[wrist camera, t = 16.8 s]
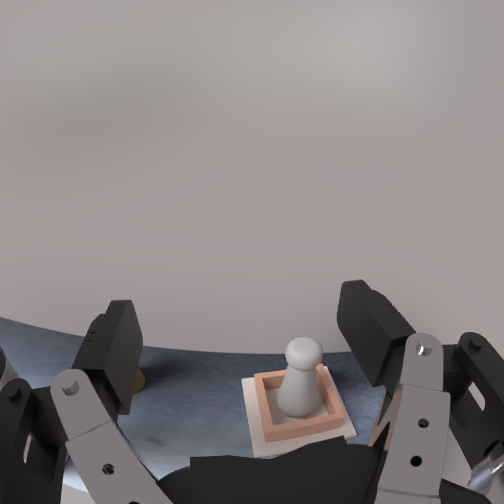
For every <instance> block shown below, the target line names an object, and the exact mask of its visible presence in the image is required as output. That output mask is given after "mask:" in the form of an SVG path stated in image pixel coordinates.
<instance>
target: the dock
mask: <svg viewBox="0 0 504 504" xmlns="http://www.w3.org/2000/svg"><path fill="white" fill-rule="evenodd" d="M285 373H286V370H281V371H274V372H266V373H258V374H254V378H245V379H242V387H243V393H244V400H245V406H246V412H247V419H248V425H249V431H250V437H251V443H252V449H253V454H254V458H258V457H265V456H272V455H279V454H285V453H288V452H290V451H293V450H295V449H297V448H300V447H302V446H304V445H306V444H309V443H314V442H318V441H322V440H326V439H330V438H334V437H338V436H342V435H344V438H345V440H346V439H349V438H353V437H355V436H356V435H357V433H356V431H355V429H354V427H353V424H352V422H351V420H350V417H349V415H348V413H347V411H346V408H345V406H344V404H343V402H342V399H341V397H340V395H339V393H338V390H337V388H336V386H335V384H334V381H333V379H332V377H331V375H330V373H329V370H328V368H327V366H325V367H323V364H319V365H317V366H316V374H317V384H318V394H319V401H318V405H317V407H316V409H315V410H313V411H312V412H311V413H310V414H308V415H306V416H304V417H302V418H300V419H295V418H291V417H286V415H285V414H284V413H283V411H282V410H281V409H280V408H279V407H278V402H277V395H278V393H279V390H280V387H281V384H282V382H283V379H284V376H285Z"/></svg>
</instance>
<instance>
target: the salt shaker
mask: <svg viewBox="0 0 504 504" xmlns="http://www.w3.org/2000/svg"><path fill="white" fill-rule="evenodd" d="M322 355H323V349H322V346H321V344H320V343H319V342H318V341H317V340H315V339H313V338H310V337H298V338H295V339H293V340H292V341H291V342H289V344H288V346H287V349H286V359H287V362H288V367H287V370H286V373H285V376H284V379H283V382H282V384H281V387H280V390H279V393H278V395H277V402H278V407H279V408H280V409H281V410H282V411H283V413H284V414H285V415H286V417H291V418H295V419H300V418H302V417H304V416H306V415H308V414H310V413H311V412H312V411H313V410H315V409H316V407H317V405H318V401H319V394H318V384H317V374H316V366H317V365H319V364H320V362H321V359H322Z"/></svg>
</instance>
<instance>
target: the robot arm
mask: <svg viewBox="0 0 504 504" xmlns="http://www.w3.org/2000/svg"><path fill="white" fill-rule="evenodd" d="M337 323H338V327H339V329H340V331H341V333H342V334H343V336H344V338H345V340H346V341H347V343H348V345H349V346H350V348H351V350H352V352H353V353H354V355H355V357H356V359H357V361H358V362H359V364H360V366H361V368H362V369H363V371H364V373H365V375H366V377H367V378H368V380H369V382H370V384H371V386H372V387H377V386H380V385H383V384H384V386H385V387H386V390H385V392H384V394H383V398H382V402H381V405H380V409H379V413H378V416H377V419H376V423H375V426H374V429H373V432H372V435H371V437H370V439H369V441H368V443H367V445H362V444H347V443H346V440H345V438H344V435H342V436H338V437H334V438H330V439H326V440H322V441H318V442H314V443H309V444H306V445H304V446H302V447H300V448H297V449H295V450H293V451H290V452H288V453H286V454H283V455H281V456H278V457H276V458H273V459H259V458H248V457H239V456H231V455H225V456H207V457H190V466H189V467H185V468H182V469H179V470H176V471H174V472H172V473H170V474H168V475H166V476H165V477H163V478H161V479H160V480H159V479H158V478H157V477H156V476H155V475H154V473H153V472H152V471H151V470H150V469H149V467H148V466H147V465H146V464H145V462H144V461H143V460H142V458H141V457H140V456H139V454H138V453H137V452H136V450H135V449H134V448H133V446H132V445H131V443H130V442H129V440H128V439H127V437H126V436H125V434H124V433H123V431H122V430H121V428H120V427H119V425H118V424H117V418H118V414H120V415H129V412H130V406H131V401H132V395H133V390H134V385H135V379H136V374H137V370H138V365H139V360H140V356H141V351H142V346H143V339H142V333H141V329H140V326H139V323H138V319H137V316H136V312H135V309H134V305H133V303H132V301H131V300H114V301H111V302H110V305H109V306H108V309H107V311H106V313H105V314H100V315H99V316H98V317H97V318H96V319H95V320H94V321H93V322H92V323H91V325H90V327H89V329H88V331H87V334H86V336H85V338H84V342H82V345H81V347H80V349H79V351H78V354H77V356H76V358H75V361H74V363H73V366H72V368H71V369H69V370H66V371H63V372H61V373H60V374H58V375H57V376H56V377H55V378H54V380H53V381H52V383H51V386H48V387H42V388H36V389H32V388H31V386H30V385H29V383H28V382H27V381H26V380H24V379H21V378H20V377H19V375H18V374H17V372H16V371H15V370H14V368H13V366H12V365H11V363H10V362H9V360H8V358H7V357H6V355H5V354H4V352H3V350H2V349H1V347H0V504H60V501H61V490H62V482H63V474H64V467H65V464H66V462H67V460H68V457H69V455H70V457H71V459H72V461H73V463H74V465H75V467H76V469H77V471H78V473H79V475H80V477H81V479H82V481H83V482H84V484H85V486H86V488H87V490H88V491H89V493H90V495H91V496H92V498H93V500H94V501H95V503H96V504H504V360H503V359H502V358H501V356H500V355H499V354H498V353H497V351H496V350H495V349H494V348H493V347H492V345H491V344H490V343H489V342H488V341H487V340H486V339H485V338H484V337H483V336H481V335H480V334H477V333H474V332H467V333H464V334H463V335H462V336H461V337H460V340H459V342H458V344H453V345H442V344H441V343H440V342H439V341H438V340H437V339H436V338H435V337H433V336H432V335H429V334H425V333H416V331H415V330H414V329H413V328H412V327H411V326H410V324H409V323H408V322H407V321H406V320H405V318H403V316H402V315H401V314H400V313H399V312H398V311H397V309H396V308H395V307H394V306H392V304H391V302H390V301H389V300H388V299H387V298H386V297H385V296H384V295H382V294H380V293H379V292H377V291H375V290H371V289H370V287H369V286H368V285H367V284H366V283H365V282H364V281H363V280H354V281H346V282H343V284H342V287H341V293H340V299H339V305H338V312H337ZM472 382H474V383H475V385H476V386H477V388H478V389H479V391H480V392H481V394H482V395H483V397H484V399H485V408H484V410H483V411H482V410H481V408H480V407H479V405H478V404H477V402H476V401H475V399H474V397H473V396H472V394H471V393H470V391H469V390H468V388H469V386H470V385H471V383H472ZM448 427H450V429H451V431H452V432H453V435H454V436H455V438H456V440H457V442H458V444H459V446H460V448H461V450H462V452H463V454H464V456H465V458H466V460H467V462H468V464H469V466H470V468H471V470H472V473H471V480H470V481H469V482H468V485H467V487H468V488H465V487H462V486H459V485H457V484H454V483H452V482H449V481H447V480H445V479H442V478H441V476H442V471H443V465H444V459H445V452H446V445H447V437H448Z"/></svg>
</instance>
